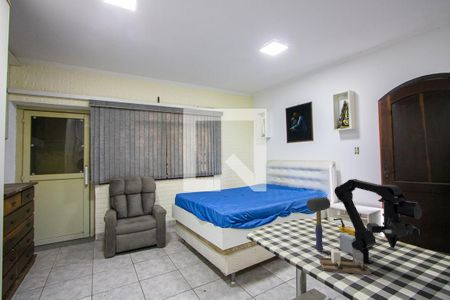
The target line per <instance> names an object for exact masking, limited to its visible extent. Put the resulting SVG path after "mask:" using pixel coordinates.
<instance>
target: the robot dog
mask: <svg viewBox="0 0 450 300" xmlns="http://www.w3.org/2000/svg"><path fill="white" fill-rule="evenodd" d="M333 221H340V222H341V223H340V224H341V225H340V226H338V229H339V231H340V232H341V234H342V233H346V234H349V235H352V236H355V229H354V228H351V227H347V226H345V225H346V224H344V221H343V219H342V218H341V217H340V218H338V217H337V218H333Z"/></svg>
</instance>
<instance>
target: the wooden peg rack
mask: <svg viewBox="0 0 450 300" xmlns="http://www.w3.org/2000/svg"><path fill="white" fill-rule="evenodd" d="M340 260H341V264H340V267H339V266H338V264H335V263H333V262H332V261H331V257H324V256H322V257H320V256H319V257H318V262H319V261H320V262H319V264H320V266H321V267H322V269H323V271H325V272H334V273H335V272H337V273H348V274H349V273H350V274H351V273H352V274H362V275H372V272H371V270H370V269H369V267H368V265H365V263H363V254H362V253H361V252H360V251H359V250H353V254H352V258H351V259H349V258H348V259H347V258H340Z"/></svg>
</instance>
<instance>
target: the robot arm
mask: <svg viewBox="0 0 450 300" xmlns="http://www.w3.org/2000/svg"><path fill="white" fill-rule="evenodd" d="M356 189H360V190H364V191H368V192H372V193H374V194H376V195H378V196H379V197H381V198H380V199H378V200H377V201H378V203H379V202H380V203H382V204H383V205H382V206H383V213H382V217H383V222H382V225H379V224H377V223H376V222H375V223H374V222H368V223H366V226H365V224H364V222H363V220H362V219H363V218H362V217H361V215H360V213H359V211H358V209H357V207H356V205H355V202H354V201H353V199H354V194H353V191H355V190H356ZM333 191H334V195H335V196H336V198H337V199H338V200H339V201H340V202H341V203H342V204H343V206H344V208H345V211H346V213H347V215H348V217H349V219H350V222H351V224H352V226H353V229H354V230H355V239H356V240H355V241H354V242H352V243H351V244H352V247H353V248H355V249H356V250H359V251H360V252H361V253H362V254H363V263H364V264H373V262H372V260H371V259H370V249H373V247H374V246H375V245H376V243H377V241H376V236H375V234H381V233H382V234H383V235H384V236H385V238H386V240H387V242H388V245H389V246H390V248H391V249H395V247H396V245H397V242H398V241H399V239H400V238H401V237H406V236H408V234H409V233H410V235H412V236H420V229H419V228H418V227H416V226H414V225H413V224H412V223H410V222H403V220H402V217H406V218H409V219H414V220H420V219H421V218H422V216H423V209H422V207H421V206H420V205H419V202H417V201H409V200H408V198H407V197H406V196H405V194H404V193H403V192H402V189H401V188H400V186H398V185H396V184H377V183H374V182H370V181H366V180H365V181H364V180H360V179H357V178H351V179H348V180H347V181H346V182H344V183H342V184H340V185H338V186H336V187H335V188H334V190H333ZM401 216H402V217H401Z"/></svg>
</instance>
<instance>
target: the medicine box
mask: <svg viewBox="0 0 450 300" xmlns="http://www.w3.org/2000/svg"><path fill="white" fill-rule="evenodd" d="M355 240H356V239H355V236H353V235H349V234H348V233H342V232H341V233H340V234H339V249H340V250H342V251H343V252H346V253H349V254H351V255H353V250H356V249H355V248H353V247H352V244H351V243H352V242H354V241H355Z"/></svg>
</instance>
